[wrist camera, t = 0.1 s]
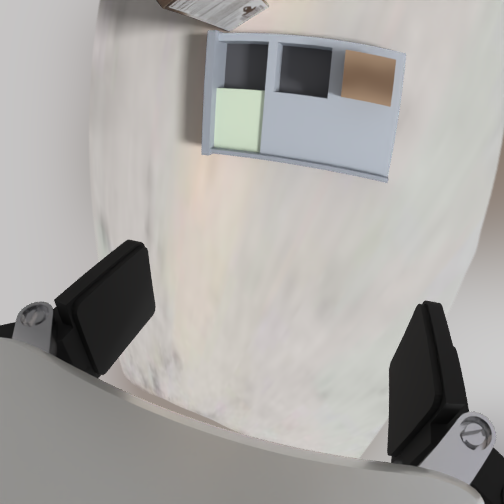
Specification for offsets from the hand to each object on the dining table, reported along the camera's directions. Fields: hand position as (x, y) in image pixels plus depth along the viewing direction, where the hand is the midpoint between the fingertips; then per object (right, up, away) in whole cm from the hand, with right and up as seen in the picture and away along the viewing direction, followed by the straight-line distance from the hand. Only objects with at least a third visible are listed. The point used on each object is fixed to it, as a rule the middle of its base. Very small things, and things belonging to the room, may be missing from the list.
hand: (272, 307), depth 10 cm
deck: (+5, +20, +24) cm, 32 cm away
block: (+12, +20, +18) cm, 30 cm away
